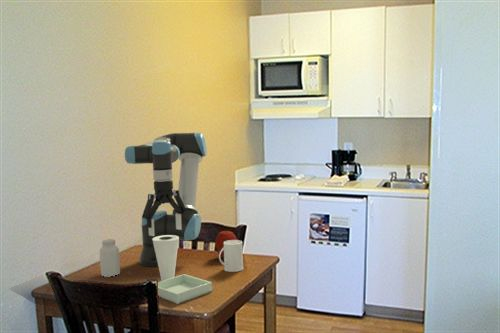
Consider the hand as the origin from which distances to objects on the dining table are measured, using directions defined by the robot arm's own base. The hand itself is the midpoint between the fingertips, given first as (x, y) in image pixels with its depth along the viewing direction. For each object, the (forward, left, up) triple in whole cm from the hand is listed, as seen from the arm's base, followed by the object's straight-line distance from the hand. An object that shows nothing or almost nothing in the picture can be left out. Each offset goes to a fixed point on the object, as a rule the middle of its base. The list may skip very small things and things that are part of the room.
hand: (165, 232), depth 205 cm
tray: (+15, -5, -20) cm, 26 cm away
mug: (+9, +27, -21) cm, 35 cm away
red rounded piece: (-6, +39, -21) cm, 44 cm away
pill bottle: (-27, -10, -21) cm, 36 cm away
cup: (0, 0, -20) cm, 21 cm away
